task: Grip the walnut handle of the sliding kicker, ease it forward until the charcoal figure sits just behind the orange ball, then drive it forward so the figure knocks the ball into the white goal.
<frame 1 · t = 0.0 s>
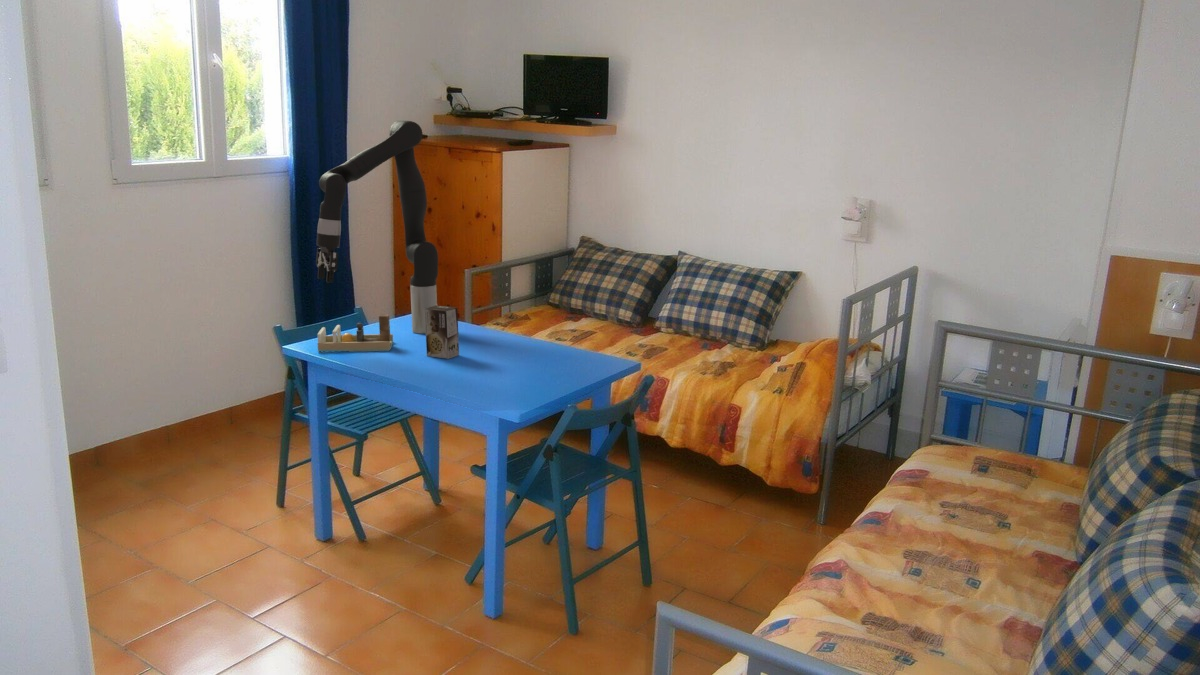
hand: (325, 280, 317), 22 cm above the table, tool pointing down, fingers open, 8 cm apart
goal: (330, 347, 318), resting on tan tray
tan tray: (356, 347, 319), on the table
coffee box: (442, 356, 309), on the table
kicker: (372, 328, 318), point 6 cm above the table, slide at 0.0 cm
ball: (347, 338, 318), point 3 cm above the table, touching tan tray
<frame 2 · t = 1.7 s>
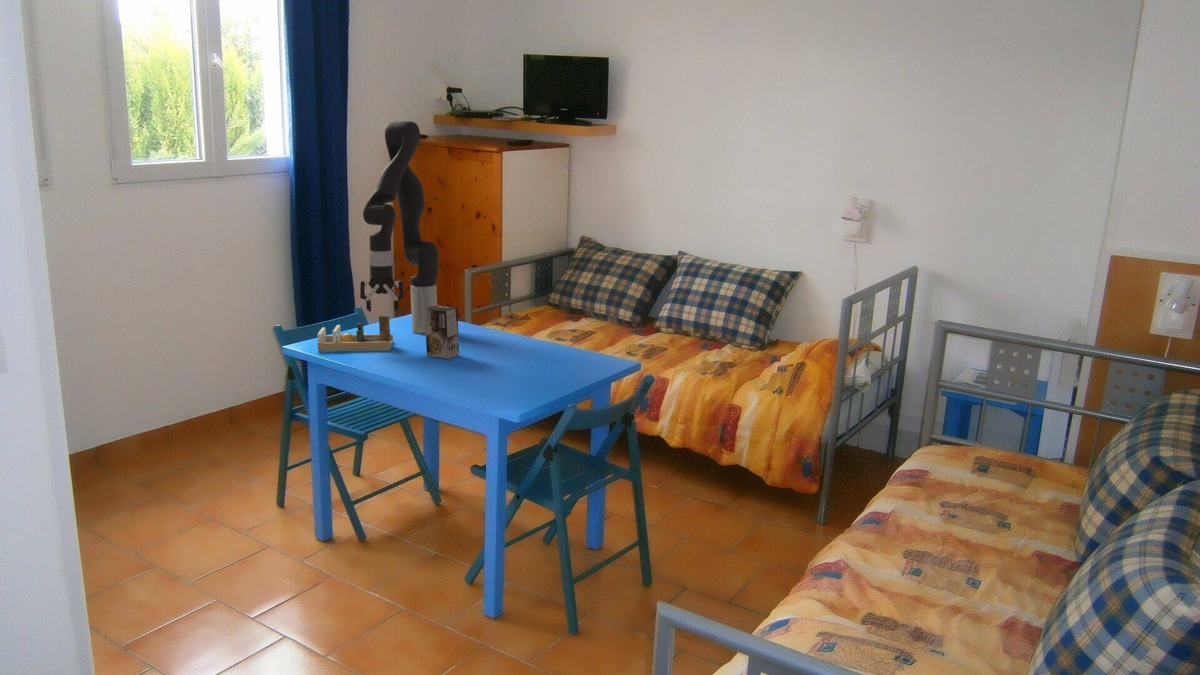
hand: (382, 311, 317), 12 cm above the table, tool pointing down, fingers open, 8 cm apart
nothing on the table moved.
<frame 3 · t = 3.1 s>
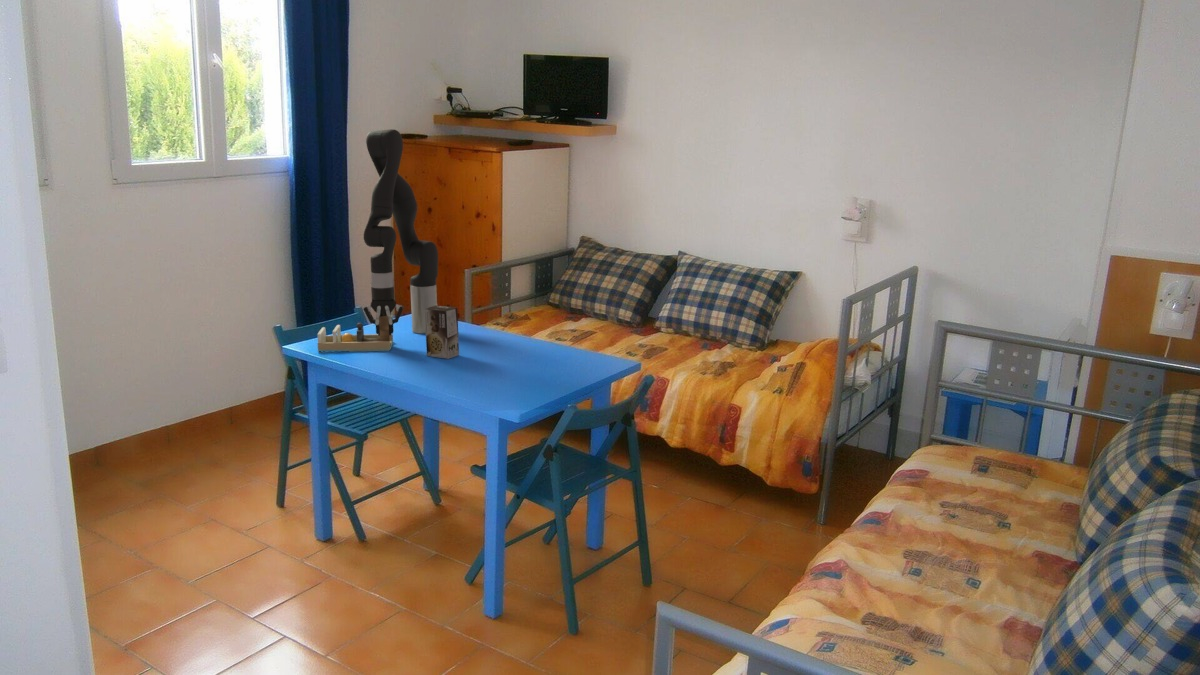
hand: (384, 334, 319), 4 cm above the table, tool pointing down, fingers closed on kicker, 3 cm apart
kicker: (372, 328, 318), point 6 cm above the table, slide at 0.0 cm, touching gripper
everything else where it was.
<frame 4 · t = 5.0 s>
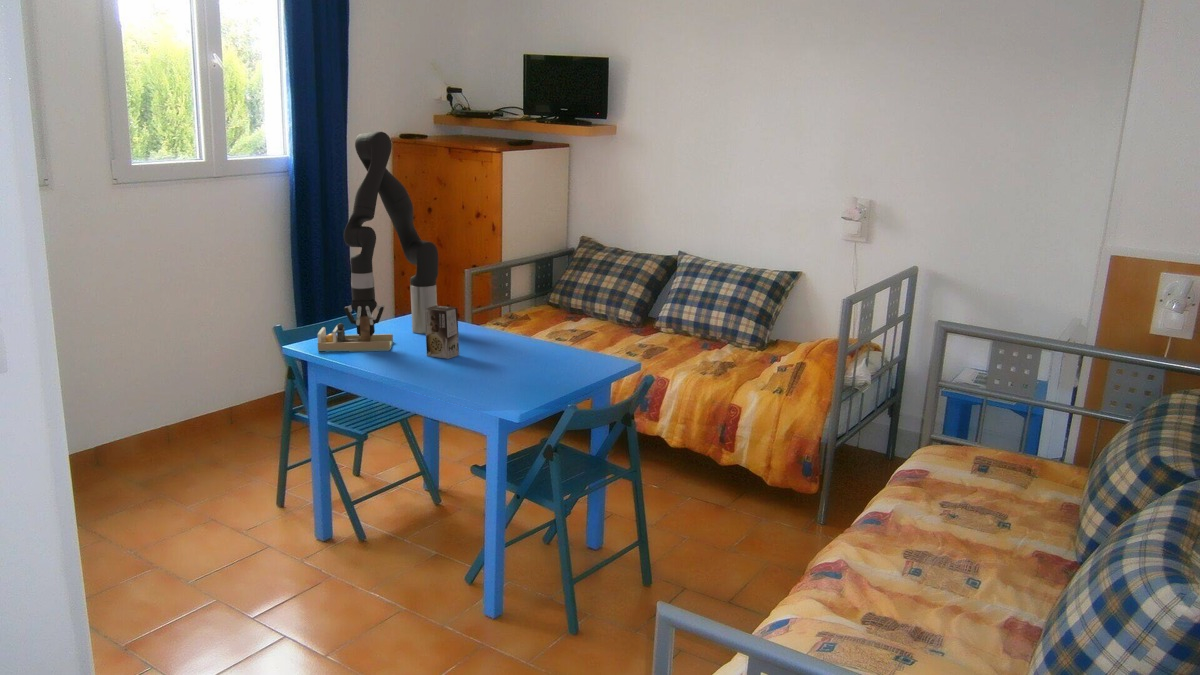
hand: (365, 335, 319), 4 cm above the table, tool pointing down, fingers closed on kicker, 3 cm apart
kicker: (353, 329, 318), point 6 cm above the table, slide at 6.3 cm, touching goal, gripper
ball: (331, 339, 318), point 3 cm above the table, tilted 147°, touching tan tray
everything else where it was.
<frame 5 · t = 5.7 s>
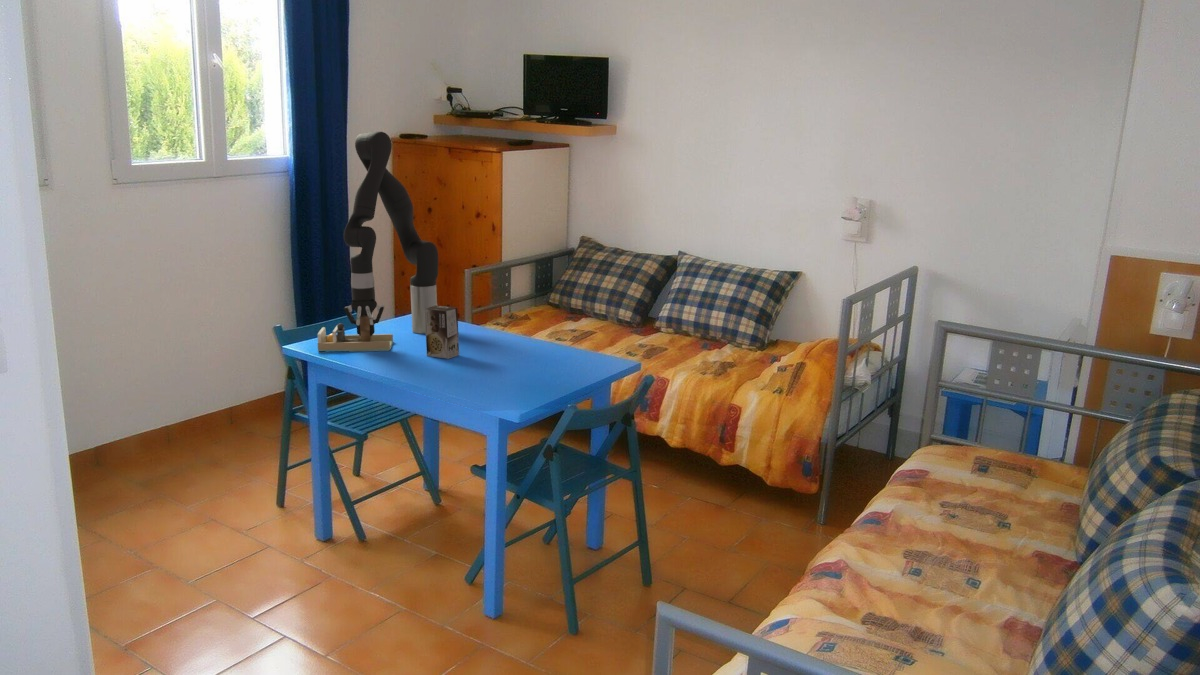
hand: (365, 335, 319), 4 cm above the table, tool pointing down, fingers closed on kicker, 3 cm apart
kicker: (353, 329, 318), point 6 cm above the table, slide at 6.3 cm, touching goal, gripper
ball: (333, 339, 318), point 3 cm above the table, tilted 134°, touching tan tray
everything else where it was.
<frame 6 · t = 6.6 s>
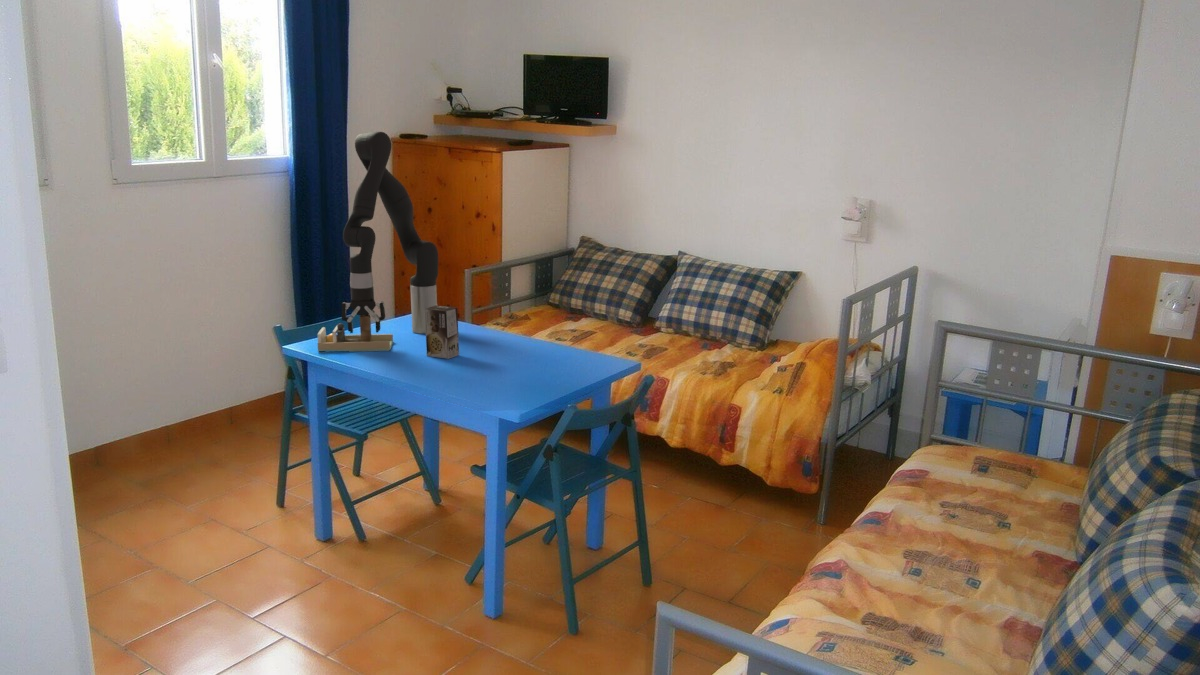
hand: (364, 332, 318), 5 cm above the table, tool pointing down, fingers open, 8 cm apart
kicker: (353, 329, 318), point 6 cm above the table, slide at 6.3 cm
everything else where it was.
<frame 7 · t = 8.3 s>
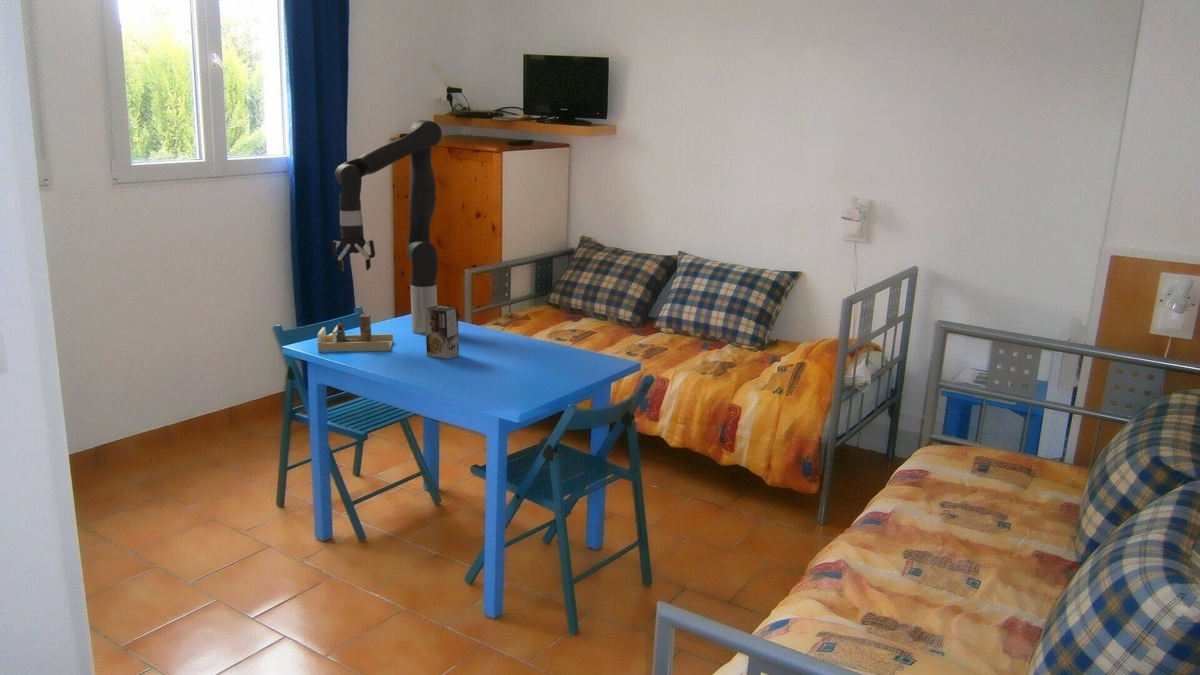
hand: (354, 270, 324), 25 cm above the table, tool pointing down, fingers open, 8 cm apart
nothing on the table moved.
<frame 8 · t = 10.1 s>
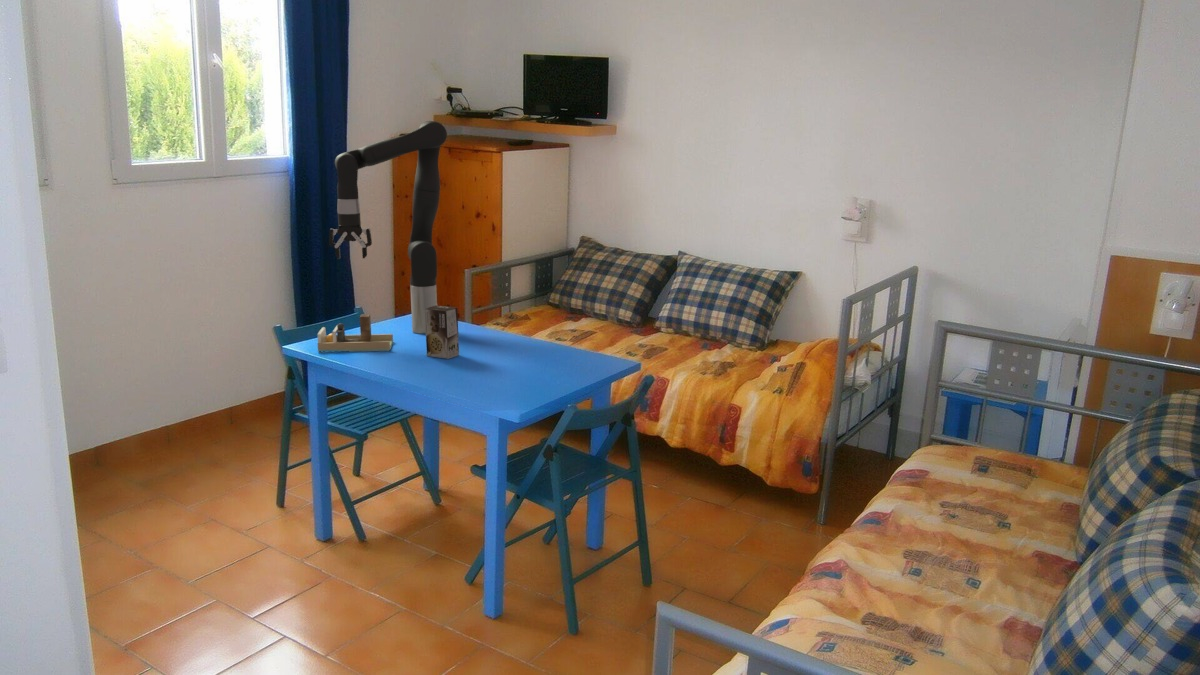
hand: (351, 258, 328), 28 cm above the table, tool pointing down, fingers open, 8 cm apart
nothing on the table moved.
at the end: ball 0.6 cm from the target spot, point 3.0 cm above the table; kicker slide at 6.3 cm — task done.
